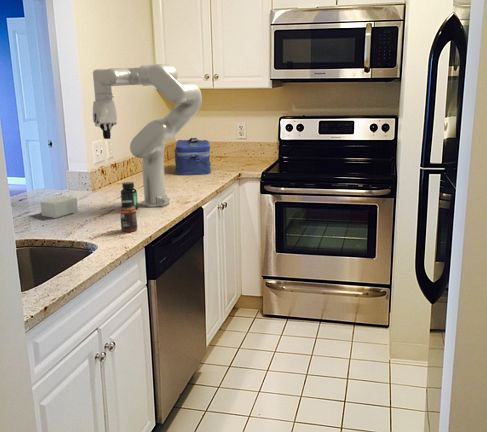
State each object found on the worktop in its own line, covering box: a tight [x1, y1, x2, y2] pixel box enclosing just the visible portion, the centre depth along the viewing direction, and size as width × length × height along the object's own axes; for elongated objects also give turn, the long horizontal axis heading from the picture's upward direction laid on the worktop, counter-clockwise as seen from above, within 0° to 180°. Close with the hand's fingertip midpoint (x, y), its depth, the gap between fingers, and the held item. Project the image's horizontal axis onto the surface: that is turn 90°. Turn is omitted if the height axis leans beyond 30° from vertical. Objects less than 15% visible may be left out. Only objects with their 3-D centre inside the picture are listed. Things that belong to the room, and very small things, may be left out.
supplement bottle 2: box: [119, 200, 138, 233], centre depth 210 cm, size 6×6×11 cm
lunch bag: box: [174, 137, 212, 177], centre depth 333 cm, size 31×21×20 cm
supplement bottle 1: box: [120, 181, 139, 211], centre depth 242 cm, size 7×7×12 cm
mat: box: [28, 212, 75, 221], centre depth 238 cm, size 12×14×1 cm
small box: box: [40, 195, 79, 219], centre depth 238 cm, size 8×6×13 cm
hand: (107, 138), depth 255 cm, fingers closed
